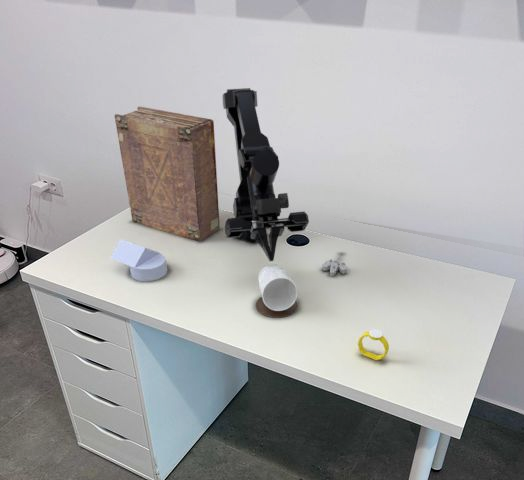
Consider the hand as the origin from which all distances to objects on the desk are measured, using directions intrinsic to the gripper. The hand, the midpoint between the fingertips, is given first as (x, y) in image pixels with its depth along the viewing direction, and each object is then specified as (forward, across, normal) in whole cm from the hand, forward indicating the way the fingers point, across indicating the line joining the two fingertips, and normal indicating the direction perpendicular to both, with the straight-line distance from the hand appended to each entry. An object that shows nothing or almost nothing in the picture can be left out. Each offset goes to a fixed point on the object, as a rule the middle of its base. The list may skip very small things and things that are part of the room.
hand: (271, 260), depth 122 cm
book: (-23, -20, +35) cm, 46 cm away
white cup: (+3, 0, +4) cm, 5 cm away
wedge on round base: (-6, -30, +18) cm, 35 cm away
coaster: (+10, 0, +2) cm, 10 cm away
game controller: (0, +19, +12) cm, 23 cm away
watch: (+26, +15, -13) cm, 33 cm away
